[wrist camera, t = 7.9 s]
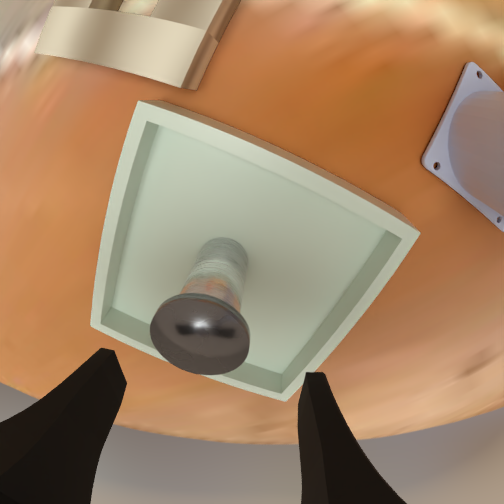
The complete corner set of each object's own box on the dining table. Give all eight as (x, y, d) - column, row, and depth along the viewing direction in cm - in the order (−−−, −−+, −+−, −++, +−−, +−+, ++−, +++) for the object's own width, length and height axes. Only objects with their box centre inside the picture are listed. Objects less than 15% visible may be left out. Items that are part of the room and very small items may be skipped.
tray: (401, 212, 17) (420, 232, 14) (285, 373, 24) (285, 401, 21) (160, 99, 15) (138, 100, 12) (107, 302, 22) (90, 325, 19)
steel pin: (256, 226, 17) (245, 302, 11) (260, 289, 19) (252, 376, 13) (184, 228, 17) (138, 300, 11) (194, 289, 19) (163, 371, 13)
